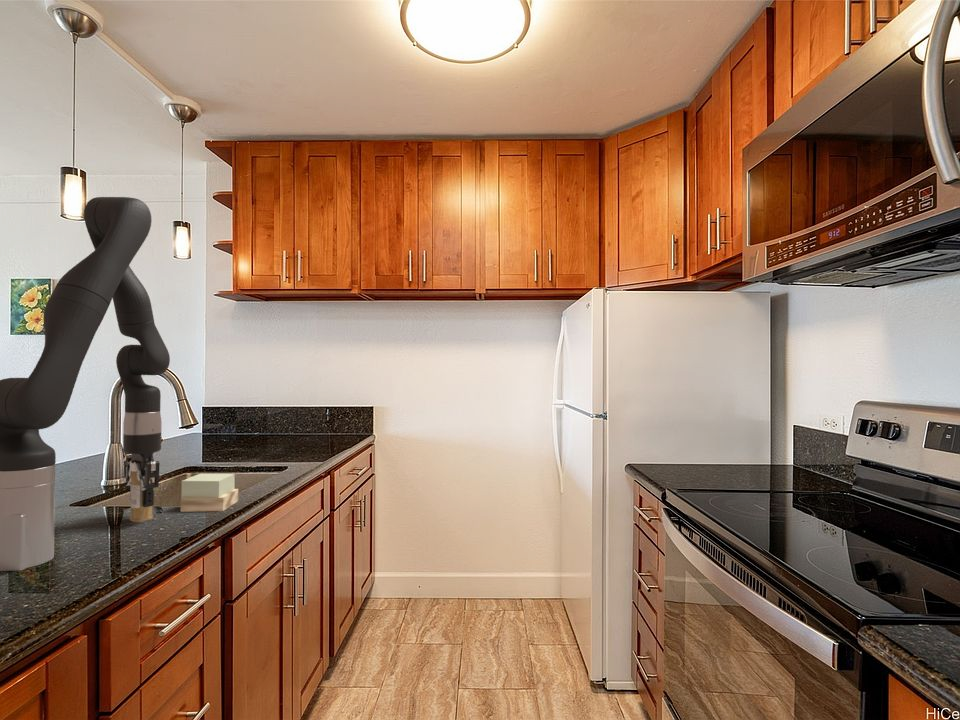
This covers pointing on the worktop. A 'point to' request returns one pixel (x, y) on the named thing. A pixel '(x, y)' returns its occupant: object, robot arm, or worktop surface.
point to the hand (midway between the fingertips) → (141, 503)
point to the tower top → (208, 485)
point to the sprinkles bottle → (138, 499)
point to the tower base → (209, 502)
